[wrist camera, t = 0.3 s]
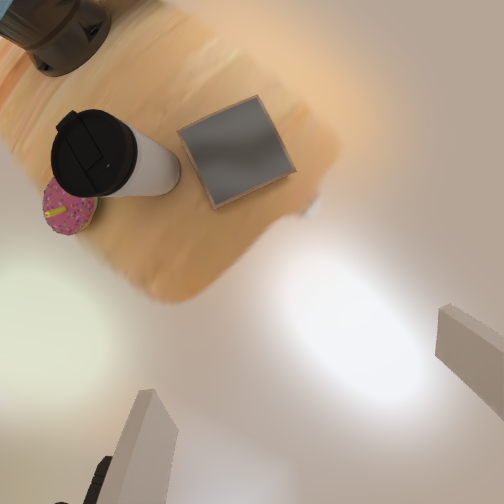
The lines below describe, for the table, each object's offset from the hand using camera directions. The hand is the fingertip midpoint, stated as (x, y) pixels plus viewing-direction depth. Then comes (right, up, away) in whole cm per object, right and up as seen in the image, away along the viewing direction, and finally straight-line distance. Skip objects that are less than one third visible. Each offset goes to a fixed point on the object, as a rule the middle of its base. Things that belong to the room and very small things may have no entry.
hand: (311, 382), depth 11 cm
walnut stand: (-4, +18, +24) cm, 30 cm away
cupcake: (-26, +13, +24) cm, 38 cm away
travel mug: (-15, +16, +24) cm, 32 cm away
